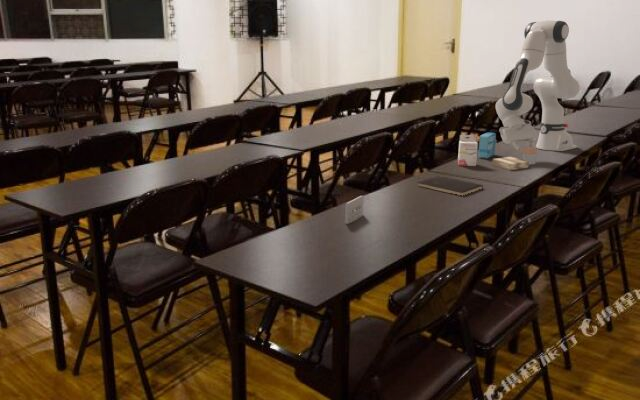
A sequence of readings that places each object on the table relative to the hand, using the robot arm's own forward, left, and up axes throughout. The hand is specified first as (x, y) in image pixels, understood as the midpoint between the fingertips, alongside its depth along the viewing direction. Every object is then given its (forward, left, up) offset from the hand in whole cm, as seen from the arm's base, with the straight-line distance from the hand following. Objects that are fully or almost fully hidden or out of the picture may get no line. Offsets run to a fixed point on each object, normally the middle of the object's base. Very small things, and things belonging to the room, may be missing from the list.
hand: (525, 148), depth 294 cm
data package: (+8, -19, -8) cm, 22 cm away
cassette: (+118, +39, -8) cm, 124 cm away
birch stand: (+12, +3, -7) cm, 14 cm away
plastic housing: (0, +3, -7) cm, 8 cm away
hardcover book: (+61, +20, -8) cm, 64 cm away
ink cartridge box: (+29, -9, -7) cm, 31 cm away
